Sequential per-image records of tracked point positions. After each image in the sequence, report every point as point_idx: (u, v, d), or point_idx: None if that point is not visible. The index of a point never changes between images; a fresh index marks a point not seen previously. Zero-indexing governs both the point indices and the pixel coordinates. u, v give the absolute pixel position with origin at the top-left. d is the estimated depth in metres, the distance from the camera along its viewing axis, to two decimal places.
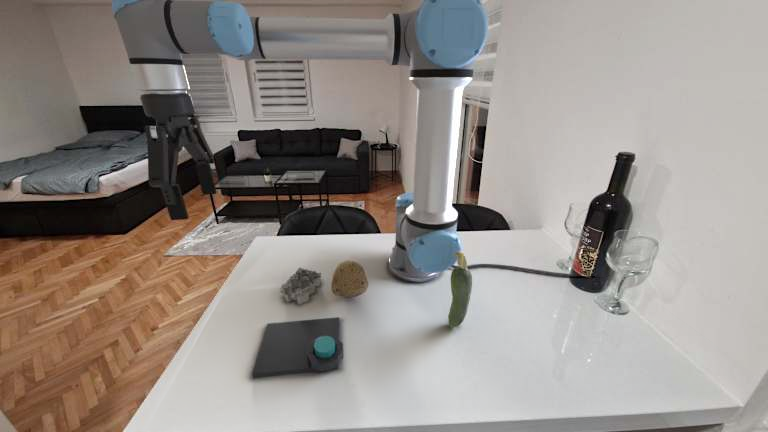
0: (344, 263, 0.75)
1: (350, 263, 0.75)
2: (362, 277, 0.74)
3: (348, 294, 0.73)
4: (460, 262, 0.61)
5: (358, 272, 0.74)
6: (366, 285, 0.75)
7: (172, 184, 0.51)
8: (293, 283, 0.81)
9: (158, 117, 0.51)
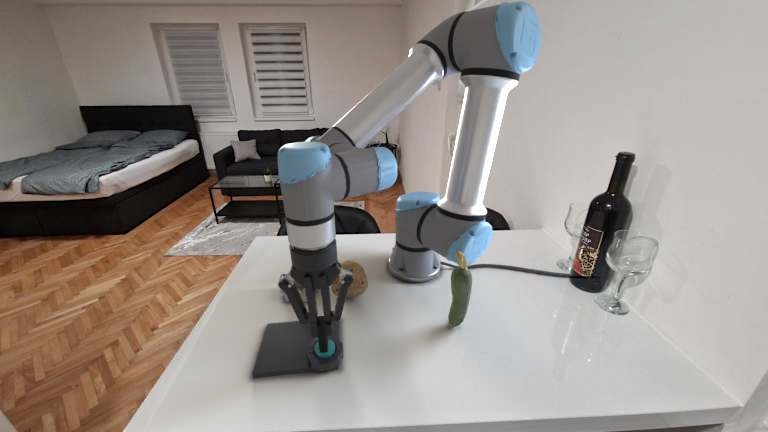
0: (344, 263, 0.75)
1: (350, 263, 0.75)
2: (362, 277, 0.74)
3: (348, 294, 0.73)
4: (460, 262, 0.61)
5: (358, 272, 0.74)
6: (366, 285, 0.75)
7: (312, 325, 0.55)
8: None
9: None
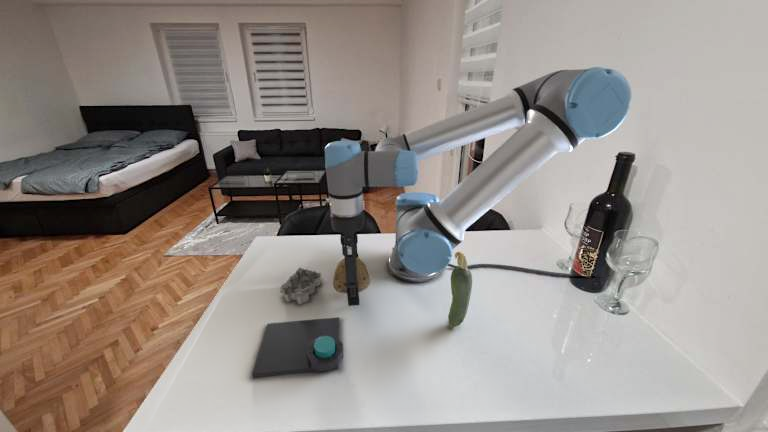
0: None
1: None
2: (364, 272, 0.73)
3: None
4: (460, 262, 0.61)
5: (360, 268, 0.73)
6: (368, 281, 0.74)
7: None
8: (292, 283, 0.81)
9: (346, 234, 0.67)
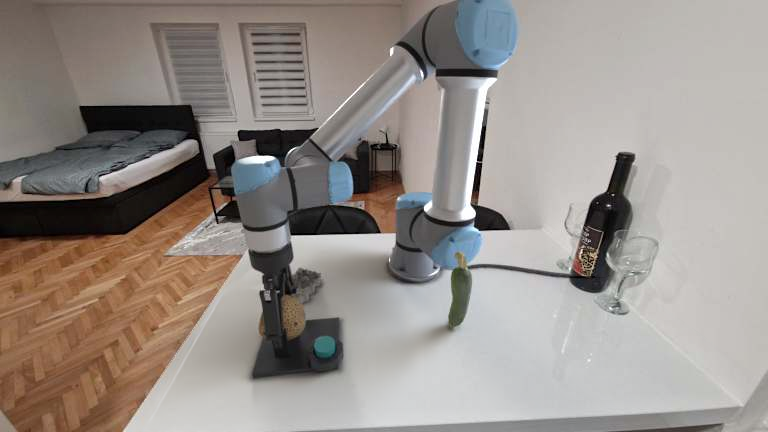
0: None
1: None
2: (295, 316, 0.59)
3: None
4: (460, 262, 0.61)
5: (290, 311, 0.59)
6: (301, 326, 0.60)
7: (283, 333, 0.56)
8: None
9: (266, 273, 0.53)
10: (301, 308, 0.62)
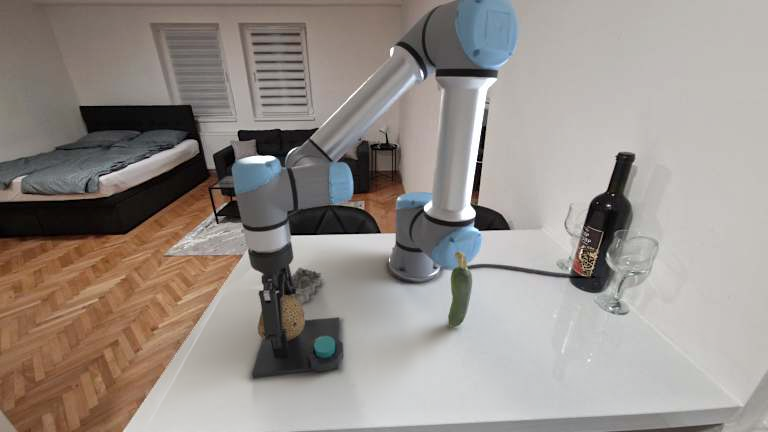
0: None
1: None
2: (295, 317, 0.59)
3: None
4: (460, 262, 0.61)
5: (290, 311, 0.59)
6: (300, 326, 0.60)
7: (282, 333, 0.56)
8: None
9: (266, 273, 0.53)
10: (300, 308, 0.62)
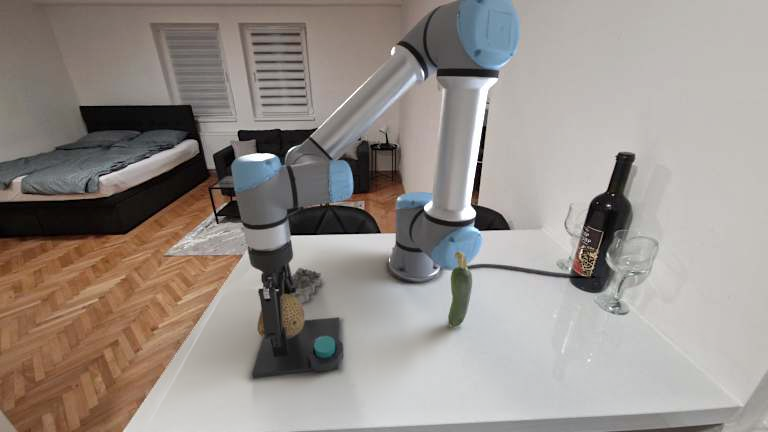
0: None
1: None
2: (294, 315, 0.59)
3: None
4: (460, 262, 0.61)
5: (289, 310, 0.59)
6: (300, 325, 0.60)
7: (281, 332, 0.56)
8: None
9: (266, 271, 0.53)
10: (300, 307, 0.62)
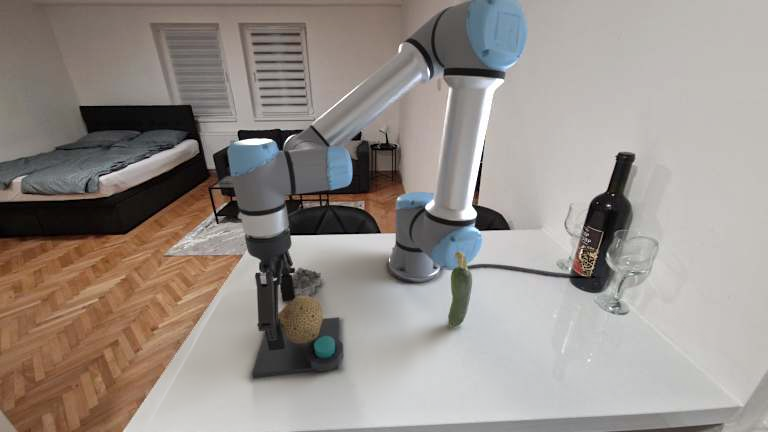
0: (309, 301, 0.61)
1: (315, 306, 0.61)
2: (317, 329, 0.60)
3: (290, 338, 0.59)
4: (460, 262, 0.61)
5: (317, 322, 0.60)
6: (314, 338, 0.61)
7: (276, 323, 0.52)
8: None
9: (263, 259, 0.52)
10: None
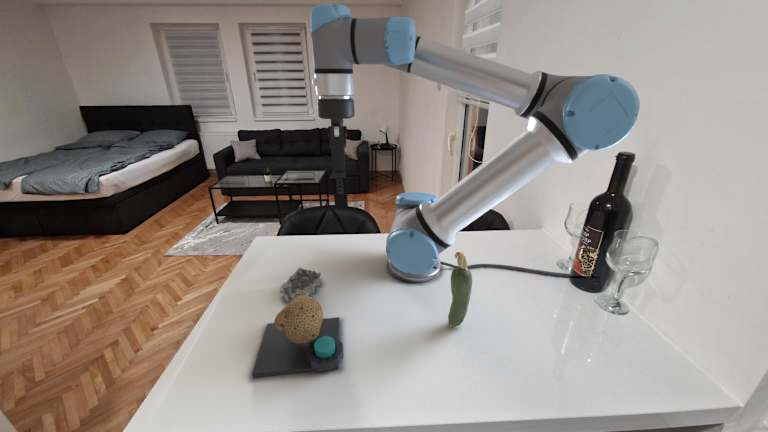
0: (309, 301, 0.61)
1: (315, 306, 0.61)
2: (317, 329, 0.60)
3: (290, 338, 0.59)
4: (460, 262, 0.61)
5: (317, 322, 0.60)
6: (314, 338, 0.61)
7: None
8: (292, 282, 0.81)
9: (334, 119, 0.60)
10: None
